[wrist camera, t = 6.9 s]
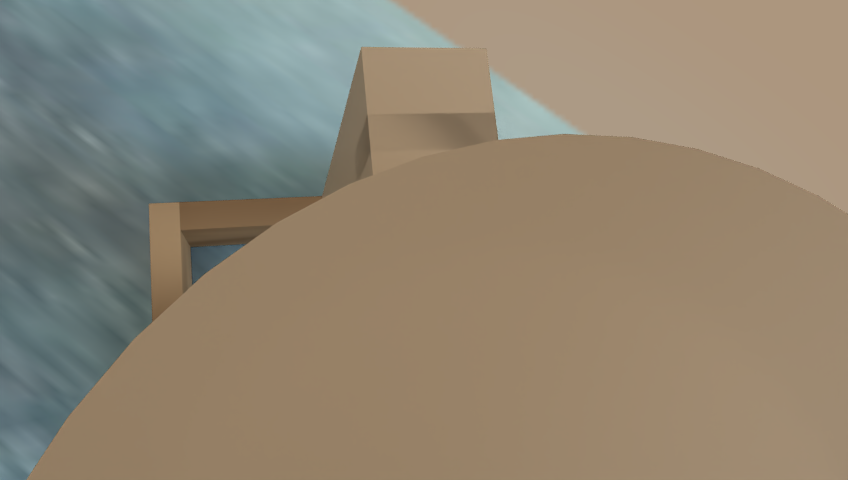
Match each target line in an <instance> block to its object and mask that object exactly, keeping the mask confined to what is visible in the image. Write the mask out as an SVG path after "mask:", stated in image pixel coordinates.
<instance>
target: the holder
mask: <svg viewBox="0 0 848 480" xmlns="http://www.w3.org/2000/svg"><path fill="white" fill-rule="evenodd" d="M320 199H322V196H316V197H292V198H269V199H246V200H223V201H199V202H176V203H153V204H149V222H150V256H151V291H152V322H153V321H154V320H155V319H156V318H157V317H159V316H160V315H161V314H162V313H163V312H164V311H165V310H166V309H167V308H168V307H169V306H171V305H172V304H173V303H174V302H175V301H176V300H177V299H178V298H179V297H180V296H181V295H182V294H184V293H185V292H186V291H187V290H188V289H189V288H190V287H191V286H192V271H191V247H201V246H218V245H235V244H248V243H249V242H250V241H252V240H253V239H255V238H256V237H257V236H259V235H260V234H262V233H263V232H264V231H266V230H267V229H269V228H270V227H271V226H273V225H274V224H276V223H277V222H279V221H281V220H283V219H285V218H287V217H288V216H290V215H292V214H294V213H296V212H298V211H300V210H302V209H303V208H305V207H307V206H309V205H311V204H313V203H315V202H317V201H318V200H320Z"/></svg>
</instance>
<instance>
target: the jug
mask: <svg viewBox="0 0 848 480" xmlns="http://www.w3.org/2000/svg"><path fill="white" fill-rule="evenodd" d="M27 480H848V214H847V213H845V212H844V211H842V210H841V209H839V208H837V207H836V206H834V205H832V204H831V203H829V202H828V201H826V200H824V199H823V198H821V197H819V196H817V195H815V194H813V193H811V192H809V191H806V190H804V189H802V188H800V187H798V186H796V185H794V184H792V183H789V182H787V181H785V180H783V179H781V178H779V177H776V176H774V175H771V174H770V173H768V172H765V171H763V170H761V169H759V168H755V167H752V166H749V165H746V164H743V163H740V162H736V161H734V160H730V159H727V158H724V157H721V156H718V155H715V154H711V153H708V152H705V151H702V150H699V149H695V148H689V147H684V146H678V145H673V144H667V143H661V142H655V141H650V140H645V139H639V138H633V137H617V136H595V135H573V134H559V135H548V136H537V137H526V138H515V139H503V140H498V134H497V127H496V119H495V111H494V103H493V96H492V88H491V80H490V73H489V65H488V58H487V50H486V48H395V47H361V50H360V54H359V58H358V61H357V65H356V69H355V73H354V77H353V81H352V84H351V88H350V92H349V96H348V100H347V103H346V107H345V111H344V115H343V119H342V122H341V126H340V130H339V134H338V138H337V142H336V145H335V149H334V153H333V157H332V161H331V164H330V168H329V172H328V176H327V180H326V183H325V187H324V191H323V195H322V199H320V200H318V201H317V202H315V203H313V204H311V205H309V206H307V207H305V208H303V209H302V210H300V211H298V212H296V213H294V214H292V215H290V216H288V217H287V218H285V219H283V220H281V221H279V222H277V223H276V224H274V225H273V226H271V227H270V228H269V229H267V230H266V231H264V232H263V233H262V234H260V235H259V236H257V237H256V238H255V239H253V240H252V241H250V242H249V243H248V244H246V245H245V246H243V247H242V248H241V249H239V250H238V251H236V252H235V253H234V254H232V255H231V256H229V257H228V258H227V259H225V260H224V261H222V262H221V263H220V264H218V265H217V266H215V267H214V268H212V269H211V270H210V271H208V272H207V273H205V274H204V275H203V276H202V277H201V278H200V279H199V280H198V281H197V282H195V283H194V284H193V285H192V286H191V287H190V288H189V289H188V290H187V291H186V292H185V293H184V294H182V295H181V296H180V297H179V298H178V299H177V300H176V301H175V302H174V303H173V304H172V305H171V306H169V307H168V308H167V309H166V310H165V311H164V312H163V313H162V314H161V315H160V316H159V317H157V318H156V319H155V320H154V321H153V322H152V323H151V324H150V325H149V326H148V327H147V328H146V329H144V330H143V331H142V332H141V333H140V334H139V335H138V336H137V337H136V338H135V339H134V340H133V341H132V342H131V343H130V345H129V346H128V347H127V348H126V349H125V350H124V352H123V353H122V354H121V355H120V356H119V358H118V359H117V360H116V361H115V362H114V363H113V365H112V366H111V367H110V368H109V369H108V370H107V372H106V373H105V374H104V375H103V376H102V378H101V379H100V380H99V381H98V382H97V383H96V385H95V386H94V387H93V388H92V389H91V390H90V392H89V393H88V394H87V395H86V396H85V398H84V399H83V400H82V401H81V402H80V403H79V405H78V406H77V407H76V408H75V409H74V411H73V412H72V413H71V414H70V415H69V416H68V418H67V419H66V421H65V422H64V424H63V425H62V427H61V428H60V430H59V431H58V433H57V434H56V436H55V437H54V439H53V440H52V442H51V444H50V445H49V447H48V448H47V450H46V451H45V453H44V454H43V456H42V457H41V459H40V460H39V462H38V463H37V465H36V466H35V468H34V469H33V471H32V472H31V474H30V475H29V477H28V478H27Z"/></svg>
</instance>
